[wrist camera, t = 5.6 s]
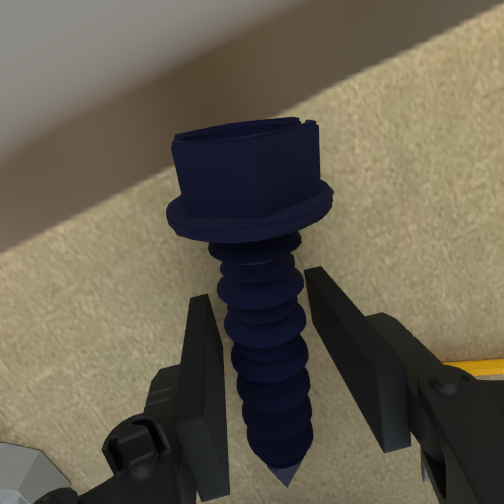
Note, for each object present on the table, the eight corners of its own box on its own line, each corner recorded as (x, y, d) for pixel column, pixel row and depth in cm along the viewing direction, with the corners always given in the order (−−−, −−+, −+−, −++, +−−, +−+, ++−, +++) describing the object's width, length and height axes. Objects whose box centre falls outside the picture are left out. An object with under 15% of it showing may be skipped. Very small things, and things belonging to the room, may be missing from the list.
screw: (367, 121, 7) (298, 111, 11) (134, 156, 7) (157, 133, 11) (353, 531, 15) (316, 432, 19) (248, 562, 15) (234, 453, 19)
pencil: (343, 365, 17) (348, 374, 16) (572, 351, 18) (586, 359, 18) (342, 377, 17) (347, 387, 17) (567, 363, 19) (580, 371, 18)
